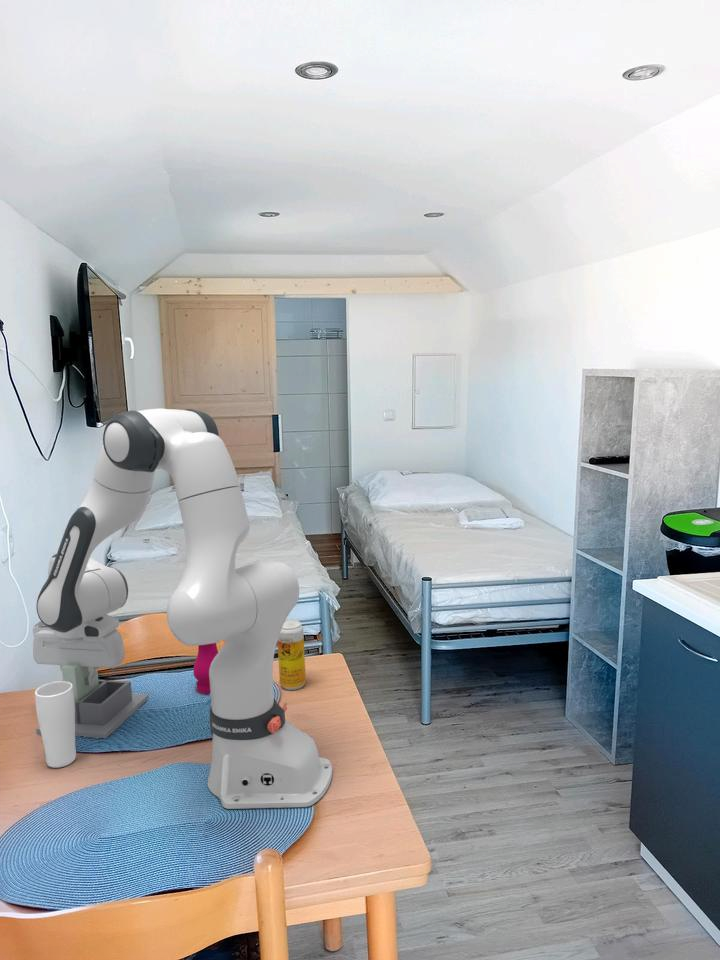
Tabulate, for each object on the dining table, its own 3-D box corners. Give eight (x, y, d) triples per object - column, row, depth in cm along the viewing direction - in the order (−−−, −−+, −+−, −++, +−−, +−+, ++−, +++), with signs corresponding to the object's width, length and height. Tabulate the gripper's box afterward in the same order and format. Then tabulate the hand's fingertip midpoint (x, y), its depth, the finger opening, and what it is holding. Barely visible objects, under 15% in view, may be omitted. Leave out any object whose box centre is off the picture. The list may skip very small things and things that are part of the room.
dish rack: (149, 698, 162) (147, 675, 161) (105, 739, 144) (103, 713, 143) (86, 694, 165) (83, 672, 164) (36, 733, 147) (33, 708, 147)
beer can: (276, 690, 163) (273, 628, 161) (284, 679, 169) (280, 619, 167) (302, 691, 162) (299, 629, 160) (308, 680, 168) (305, 620, 166)
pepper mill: (232, 685, 167) (227, 604, 164) (210, 697, 161) (204, 613, 158) (210, 679, 171) (204, 599, 168) (188, 690, 165) (181, 608, 162)
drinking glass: (66, 772, 132) (58, 697, 130) (34, 769, 134) (26, 695, 131) (87, 753, 139) (80, 681, 136) (56, 750, 140) (49, 679, 138)
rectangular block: (99, 695, 158) (95, 653, 157) (78, 712, 150) (74, 668, 149) (87, 694, 159) (83, 652, 157) (66, 711, 151) (61, 667, 150)
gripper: (23, 626, 151) (29, 687, 153) (109, 630, 147) (115, 692, 149) (41, 616, 157) (48, 674, 159) (125, 619, 153) (130, 679, 155)
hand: (81, 683), depth 154 cm, fingers closed on rectangular block, 3 cm apart
